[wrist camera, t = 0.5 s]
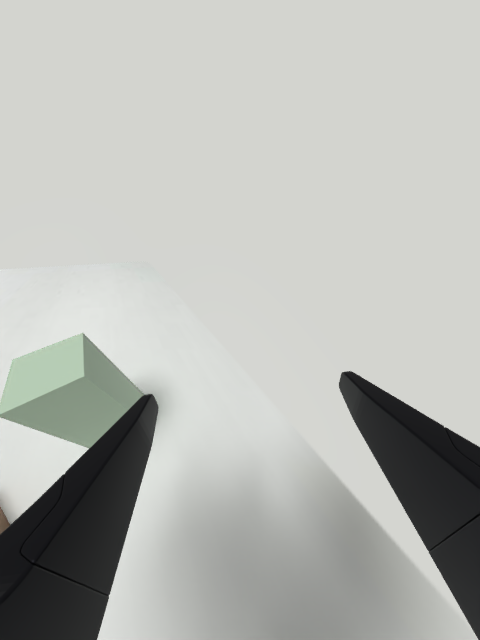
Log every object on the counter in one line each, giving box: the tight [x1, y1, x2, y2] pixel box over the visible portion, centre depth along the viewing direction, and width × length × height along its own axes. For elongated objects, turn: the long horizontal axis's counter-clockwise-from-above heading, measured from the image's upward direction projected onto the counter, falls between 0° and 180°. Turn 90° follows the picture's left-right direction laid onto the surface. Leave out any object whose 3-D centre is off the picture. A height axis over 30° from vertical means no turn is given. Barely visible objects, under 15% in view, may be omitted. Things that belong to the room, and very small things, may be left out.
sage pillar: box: [0, 333, 144, 448], centre depth 19 cm, size 5×5×13 cm
